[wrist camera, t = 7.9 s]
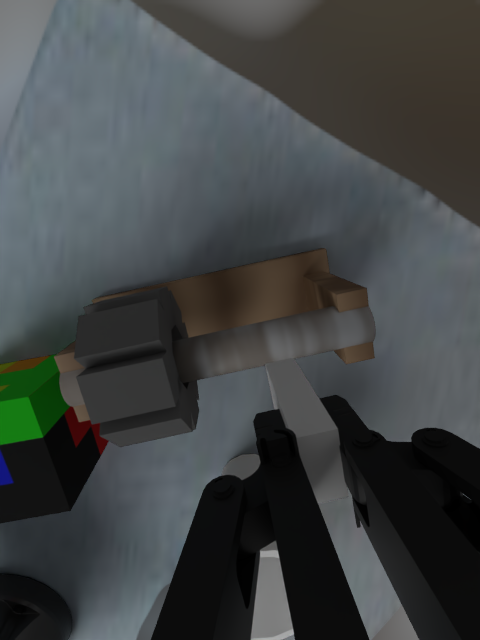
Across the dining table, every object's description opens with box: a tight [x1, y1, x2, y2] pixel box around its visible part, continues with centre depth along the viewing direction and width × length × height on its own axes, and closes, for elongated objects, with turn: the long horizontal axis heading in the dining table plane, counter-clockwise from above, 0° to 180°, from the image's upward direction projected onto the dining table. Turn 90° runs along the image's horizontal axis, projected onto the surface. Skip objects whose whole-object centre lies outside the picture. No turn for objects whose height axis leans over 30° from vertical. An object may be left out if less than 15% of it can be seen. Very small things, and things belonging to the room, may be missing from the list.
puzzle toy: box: [0, 354, 108, 523], centre depth 30 cm, size 10×10×10 cm
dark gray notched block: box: [74, 286, 199, 447], centre depth 24 cm, size 5×10×10 cm, turn 12°
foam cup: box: [222, 454, 294, 640], centre depth 32 cm, size 10×9×13 cm
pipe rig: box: [54, 248, 376, 422], centre depth 27 cm, size 22×9×12 cm, turn 102°
